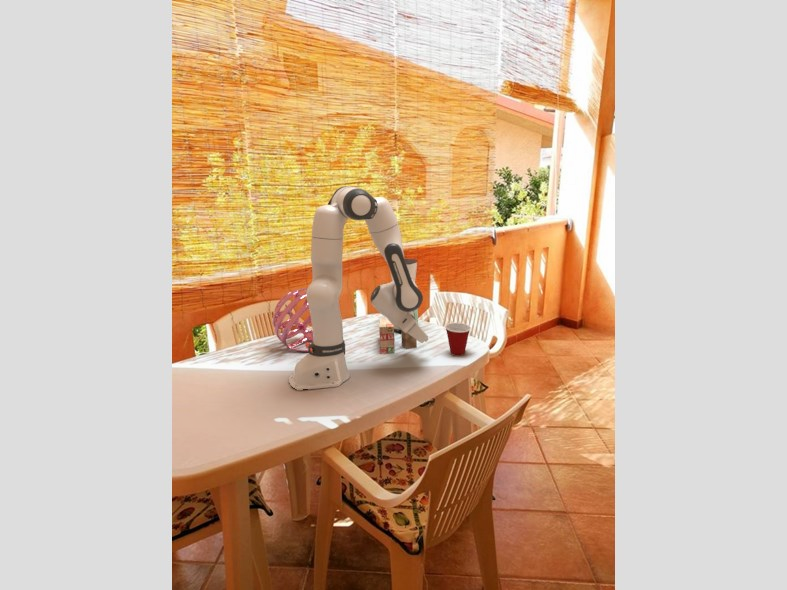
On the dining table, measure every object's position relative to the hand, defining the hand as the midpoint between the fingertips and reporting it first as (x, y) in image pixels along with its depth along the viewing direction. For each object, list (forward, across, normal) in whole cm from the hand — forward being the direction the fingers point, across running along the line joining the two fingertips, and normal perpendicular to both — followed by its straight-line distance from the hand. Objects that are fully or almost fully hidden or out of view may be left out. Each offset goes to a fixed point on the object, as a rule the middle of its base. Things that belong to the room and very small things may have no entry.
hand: (426, 339), depth 197 cm
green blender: (+9, -42, -6) cm, 43 cm away
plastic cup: (+16, -2, +4) cm, 17 cm away
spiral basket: (-26, -32, -41) cm, 58 cm away
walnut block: (+5, -17, -8) cm, 19 cm away
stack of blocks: (-1, -22, -15) cm, 26 cm away
